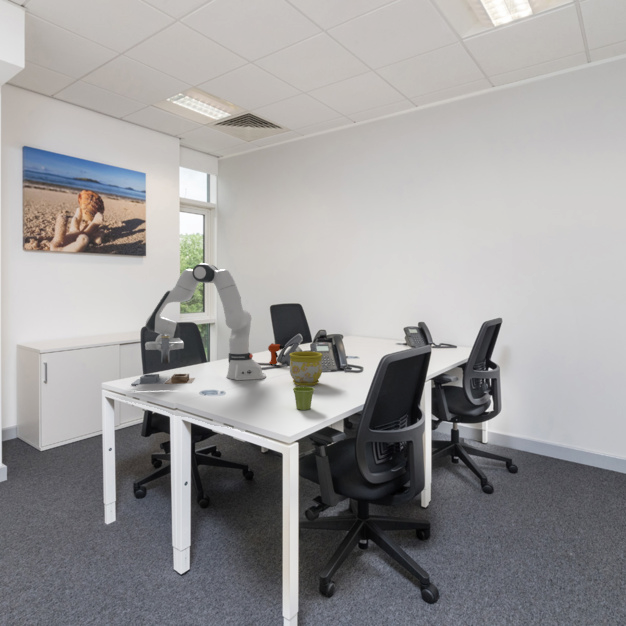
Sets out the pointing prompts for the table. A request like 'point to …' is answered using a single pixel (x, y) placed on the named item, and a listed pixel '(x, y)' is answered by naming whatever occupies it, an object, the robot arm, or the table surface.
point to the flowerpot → (306, 367)
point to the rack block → (149, 379)
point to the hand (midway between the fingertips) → (165, 347)
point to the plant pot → (303, 397)
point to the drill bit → (165, 348)
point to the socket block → (180, 379)
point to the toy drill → (274, 352)
